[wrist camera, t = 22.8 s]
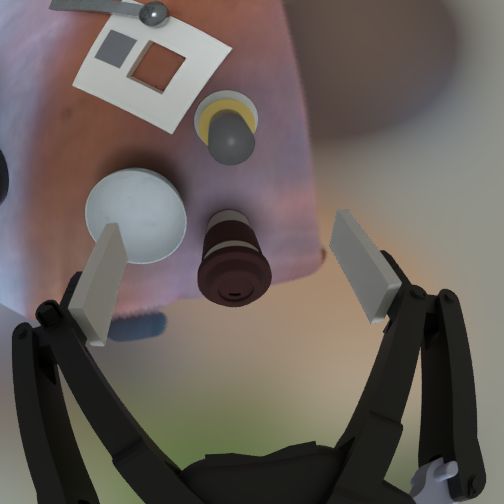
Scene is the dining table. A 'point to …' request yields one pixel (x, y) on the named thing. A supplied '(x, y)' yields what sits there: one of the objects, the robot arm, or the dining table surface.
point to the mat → (223, 95)
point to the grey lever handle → (118, 9)
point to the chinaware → (138, 213)
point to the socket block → (130, 55)
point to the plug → (228, 131)
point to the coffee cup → (232, 262)
